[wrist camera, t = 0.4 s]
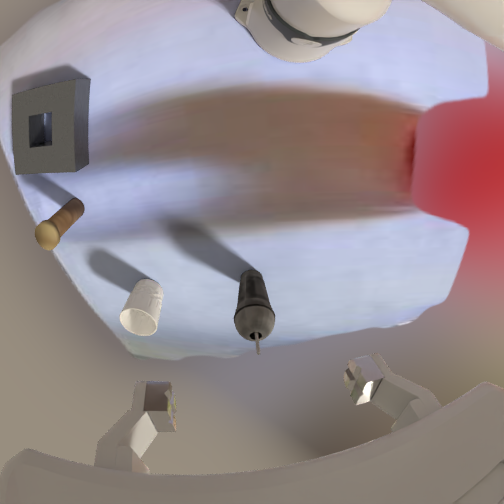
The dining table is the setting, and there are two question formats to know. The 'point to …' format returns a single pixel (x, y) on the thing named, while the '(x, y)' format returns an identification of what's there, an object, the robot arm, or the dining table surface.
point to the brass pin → (58, 224)
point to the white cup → (143, 308)
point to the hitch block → (63, 128)
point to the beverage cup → (253, 309)
